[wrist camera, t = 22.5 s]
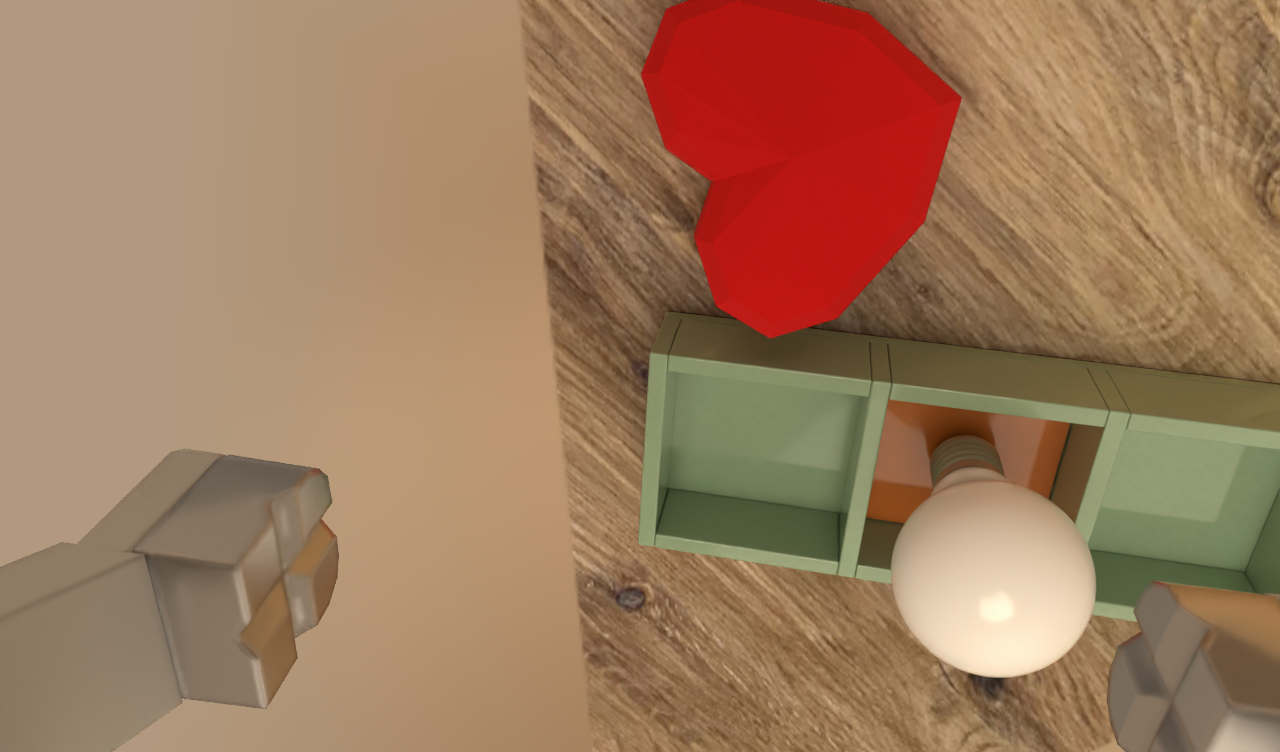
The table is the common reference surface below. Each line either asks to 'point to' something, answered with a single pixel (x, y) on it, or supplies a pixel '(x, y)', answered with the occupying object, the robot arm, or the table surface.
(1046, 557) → the lightbulb
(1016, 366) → the green compartment box
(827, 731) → the table surface
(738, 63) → the heart
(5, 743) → the robot arm
